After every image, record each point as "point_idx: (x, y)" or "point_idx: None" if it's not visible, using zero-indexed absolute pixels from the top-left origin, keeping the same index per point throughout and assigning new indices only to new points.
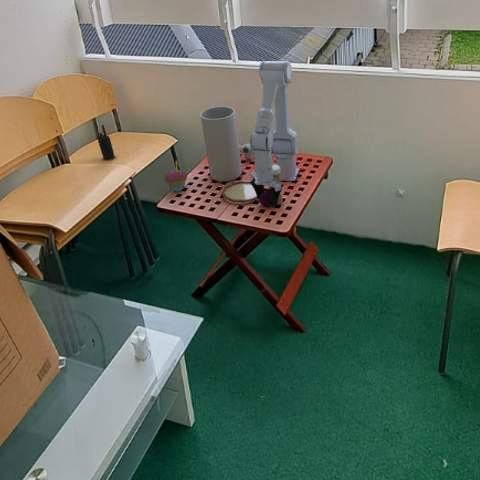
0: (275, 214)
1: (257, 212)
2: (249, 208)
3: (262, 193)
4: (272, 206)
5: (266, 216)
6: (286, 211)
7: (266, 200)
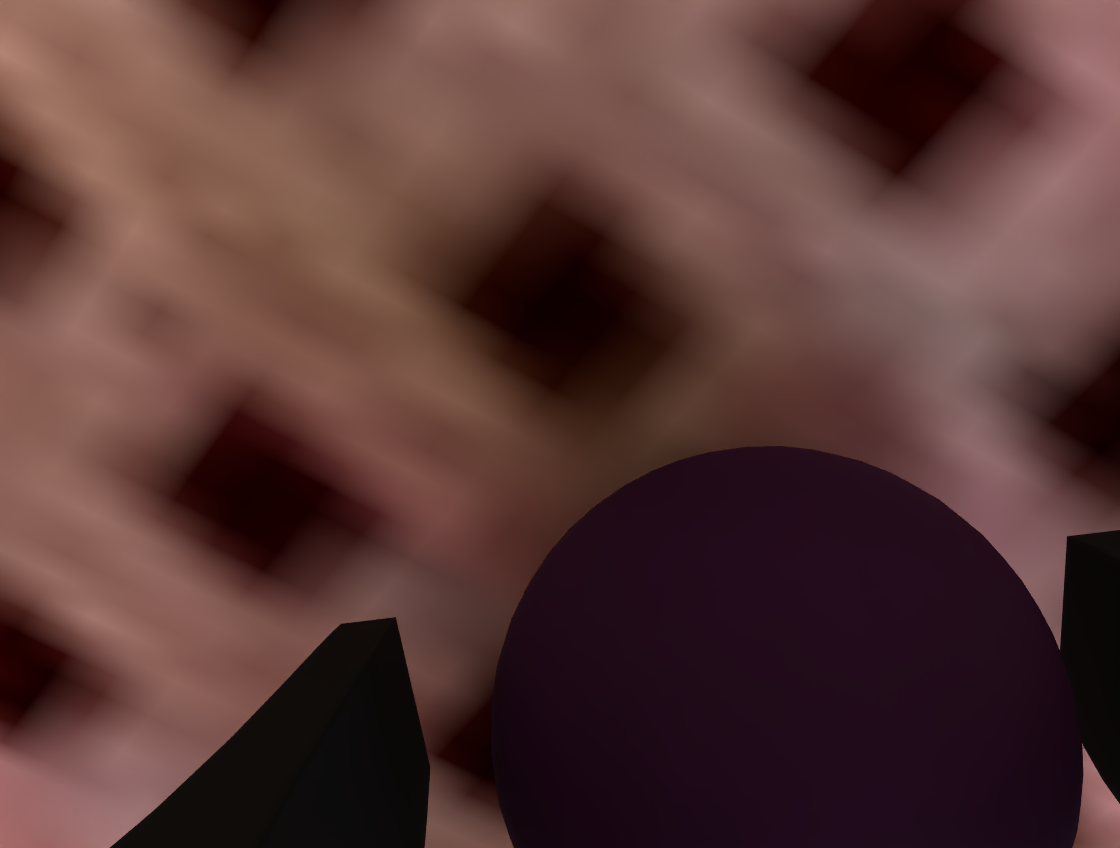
0: (166, 522)
1: (593, 154)
2: (1006, 61)
3: (949, 803)
4: (327, 641)
5: (197, 264)
6: (161, 790)
7: (550, 663)
